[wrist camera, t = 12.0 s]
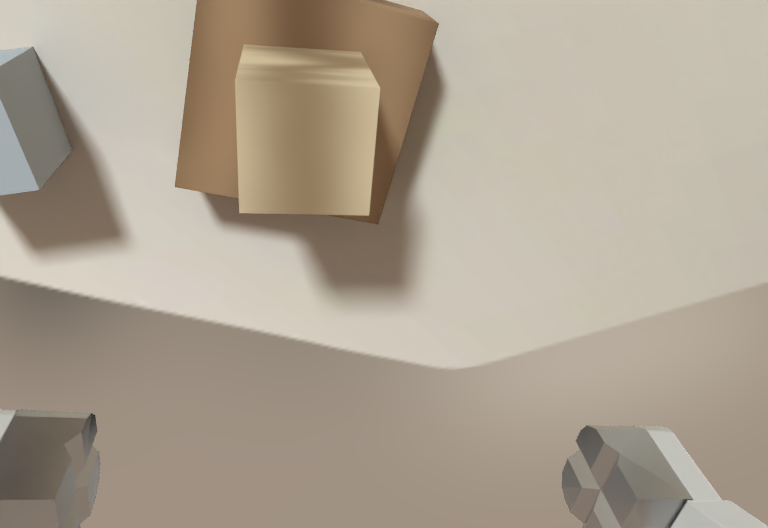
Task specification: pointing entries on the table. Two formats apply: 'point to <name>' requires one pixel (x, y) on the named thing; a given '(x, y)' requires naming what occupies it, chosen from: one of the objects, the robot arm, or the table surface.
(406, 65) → the walnut block
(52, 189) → the table surface
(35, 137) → the slate cube
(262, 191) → the oak block
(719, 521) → the robot arm
